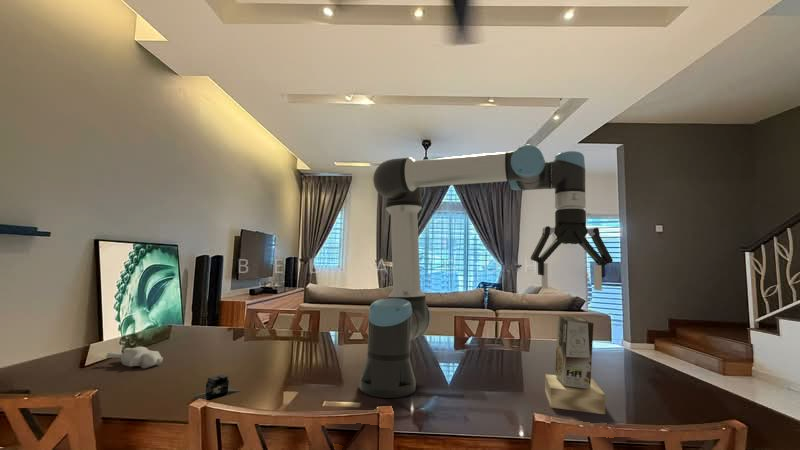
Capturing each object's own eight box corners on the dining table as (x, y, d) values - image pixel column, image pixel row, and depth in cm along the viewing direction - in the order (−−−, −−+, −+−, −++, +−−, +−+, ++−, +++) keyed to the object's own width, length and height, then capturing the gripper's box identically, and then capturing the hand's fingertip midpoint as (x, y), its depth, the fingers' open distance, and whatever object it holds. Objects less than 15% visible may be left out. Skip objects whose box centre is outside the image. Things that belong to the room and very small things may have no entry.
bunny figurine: (145, 357, 107) (103, 347, 110) (141, 375, 107) (100, 364, 110) (171, 350, 116) (132, 341, 119) (168, 366, 116) (128, 356, 119)
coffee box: (591, 390, 89) (594, 323, 91) (563, 386, 90) (567, 320, 92) (579, 377, 98) (582, 317, 100) (554, 374, 99) (557, 314, 101)
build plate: (198, 407, 84) (200, 386, 84) (182, 399, 88) (184, 380, 88) (247, 392, 94) (248, 374, 95) (231, 386, 98) (232, 368, 99)
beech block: (550, 409, 90) (550, 387, 90) (545, 392, 101) (545, 374, 102) (605, 416, 86) (604, 394, 87) (593, 398, 98) (592, 379, 98)
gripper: (526, 206, 96) (526, 287, 94) (625, 208, 94) (628, 292, 92) (519, 210, 104) (519, 286, 102) (611, 212, 102) (613, 290, 99)
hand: (571, 289), depth 97 cm, fingers open, 13 cm apart
